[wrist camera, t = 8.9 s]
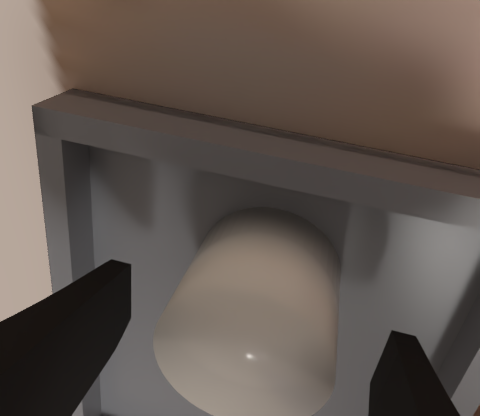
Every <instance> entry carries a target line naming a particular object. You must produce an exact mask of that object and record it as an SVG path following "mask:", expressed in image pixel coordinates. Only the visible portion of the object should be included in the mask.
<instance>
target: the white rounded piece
mask: <svg viewBox="0 0 480 416" xmlns="http://www.w3.org/2000/svg"><path fill="white" fill-rule="evenodd" d="M340 281H341V268H340V262H339V258H338V255H337V253H336V251H335V249H334V247H333V245H332V244H331V242H330V240H329V239H328V238H327V237H326V236H325V234H324V233H323V232H322V231H321V230H320V229H318V228H317V227H316V226H315V225H314V224H312V223H311V222H309V221H308V220H306V219H304V218H303V217H301V216H299V215H296V214H294V213H291V212H289V211H285V210H282V209H276V208H270V207H255V208H247V209H242V210H239V211H236V212H233V213H231V214H229V215H227V216H225V217H224V218H222V219H221V220H219V221H218V222H217V223H216V224H215V225H214V226H213V227H212V228H211V230H210V231H209V232H208V234H207V236H206V237H205V239H204V241H203V243H202V244H201V246H200V248H199V250H198V251H197V253H196V255H195V257H194V258H193V260H192V262H191V264H190V265H189V267H188V269H187V271H186V273H185V274H184V276H183V278H182V280H181V281H180V283H179V285H178V287H177V288H176V290H175V292H174V294H173V295H172V297H171V299H170V301H169V302H168V304H167V306H166V308H165V310H164V311H163V313H162V315H161V317H160V318H159V320H158V322H157V324H156V327H155V330H154V336H153V348H154V353H155V358H156V360H157V363H158V366H159V367H160V369H161V371H162V373H163V375H164V376H165V378H166V379H167V380H168V382H169V383H170V384H171V385H172V386H173V388H174V389H175V390H176V391H177V392H178V393H179V394H180V395H182V396H183V397H184V398H185V399H186V400H188V401H189V402H190V403H192V404H193V405H195V406H196V407H198V408H199V409H201V410H203V411H205V412H207V413H209V414H211V415H213V416H312V415H313V414H315V413H316V412H318V411H319V410H320V409H321V408H322V407H323V406H324V405H325V403H326V402H327V401H328V399H329V398H330V396H331V394H332V392H333V389H334V385H335V378H336V358H337V339H338V320H339V300H340Z"/></svg>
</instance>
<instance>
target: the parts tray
mask: <svg viewBox="0 0 480 416" xmlns="http://www.w3.org/2000/svg"><path fill="white" fill-rule="evenodd" d="M32 112H33V121H34V130H35V139H36V148H37V157H38V166H39V174H40V184H41V193H42V202H43V211H44V219H45V228H46V238H47V246H48V256H49V265H50V274H51V283H52V292H53V294H54V293H55V292H57V291H59V290H61V289H62V288H64V287H66V286H67V285H69V284H71V283H72V282H74V281H76V280H77V279H79V278H81V277H82V276H84V275H86V274H87V273H89V272H91V271H92V270H94V269H95V268H97V267H99V266H100V265H102V264H104V263H105V262H107V261H109V260H111V259H113V260H117V261H121V262H125V263H129V264H131V320H130V322H129V324H128V326H127V328H126V330H125V332H124V334H123V336H122V338H121V340H120V342H119V344H118V346H117V348H116V350H115V351H114V353H113V354H112V356H111V357H110V359H109V360H108V362H107V364H106V365H105V367H104V368H103V370H102V371H101V373H100V374H99V376H98V377H97V379H96V380H95V382H94V383H93V385H92V386H91V388H90V389H89V391H88V392H87V394H86V395H85V397H84V398H83V400H82V401H81V403H80V404H79V406H78V407H77V409H76V410H75V412H74V413H73V415H72V416H213V415H211V414H209V413H207V412H205V411H203V410H201V409H199V408H198V407H196V406H195V405H193V404H192V403H190V402H189V401H188V400H186V399H185V398H184V397H183V396H182V395H180V394H179V393H178V392H177V391H176V390H175V389H174V388H173V386H172V385H171V384H170V383H169V382H168V380H167V379H166V378H165V376H164V375H163V373H162V371H161V369H160V367H159V366H158V363H157V360H156V358H155V353H154V348H153V336H154V330H155V327H156V324H157V322H158V320H159V318H160V317H161V315H162V313H163V311H164V310H165V308H166V306H167V304H168V302H169V301H170V299H171V297H172V295H173V294H174V292H175V290H176V288H177V287H178V285H179V283H180V281H181V280H182V278H183V276H184V274H185V273H186V271H187V269H188V267H189V265H190V264H191V262H192V260H193V258H194V257H195V255H196V253H197V251H198V250H199V248H200V246H201V244H202V243H203V241H204V239H205V237H206V236H207V234H208V232H209V231H210V230H211V228H212V227H213V226H214V225H215V224H216V223H217V222H218V221H219V220H221V219H222V218H224V217H225V216H227V215H229V214H231V213H233V212H236V211H239V210H242V209H247V208H255V207H270V208H276V209H282V210H285V211H289V212H291V213H294V214H296V215H299V216H301V217H303V218H304V219H306V220H308V221H309V222H311V223H312V224H314V225H315V226H316V227H317V228H318V229H320V230H321V231H322V232H323V233H324V234H325V236H326V237H327V238H328V239H329V240H330V242H331V244H332V245H333V247H334V249H335V251H336V253H337V255H338V258H339V262H340V268H341V281H340V300H339V320H338V339H337V358H336V378H335V385H334V389H333V392H332V394H331V396H330V398H329V399H328V401H327V402H326V403H325V405H324V406H323V407H322V408H321V409H320V410H319V411H318V412H316V413H315V414H313V415H312V416H368V413H369V391H370V381H371V379H372V376H373V374H374V372H375V369H376V367H377V364H378V362H379V359H380V357H381V355H382V352H383V350H384V347H385V345H386V342H387V340H388V338H389V335H390V333H391V330H394V331H398V332H402V333H406V334H410V335H414V336H416V337H417V339H418V340H419V342H420V344H421V346H422V348H423V350H424V352H425V354H426V355H427V357H428V359H429V361H430V363H431V365H432V367H433V369H434V370H435V372H436V374H437V376H438V378H439V380H440V381H441V383H442V385H443V387H444V389H445V390H446V392H447V394H448V396H449V397H450V399H451V401H452V402H453V404H454V406H455V407H456V409H457V411H458V412H459V414H460V416H473V415H474V413H475V411H476V410H477V408H478V407H479V405H480V170H477V169H472V168H467V167H462V166H457V165H452V164H447V163H442V162H437V161H432V160H427V159H422V158H417V157H412V156H407V155H402V154H397V153H392V152H387V151H382V150H377V149H372V148H367V147H362V146H357V145H352V144H347V143H342V142H337V141H332V140H327V139H322V138H317V137H312V136H307V135H302V134H297V133H292V132H287V131H282V130H277V129H272V128H267V127H262V126H257V125H252V124H247V123H242V122H237V121H232V120H227V119H222V118H217V117H212V116H207V115H202V114H197V113H192V112H187V111H182V110H177V109H172V108H167V107H162V106H157V105H152V104H147V103H142V102H137V101H132V100H127V99H122V98H117V97H112V96H107V95H102V94H97V93H92V92H87V91H82V90H77V89H71V90H68V91H66V92H63V93H61V94H59V95H56V96H54V97H51V98H49V99H46V100H44V101H42V102H39V103H37V104H34V105H32Z"/></svg>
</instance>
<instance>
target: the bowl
mask: <svg viewBox="0 0 480 416" xmlns="http://www.w3.org/2000/svg"><path fill="white" fill-rule="evenodd" d="M473 416H480V405H479V407H478V408H477V410H476V411H475V413H474V415H473Z"/></svg>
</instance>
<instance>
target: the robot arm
mask: <svg viewBox="0 0 480 416" xmlns="http://www.w3.org/2000/svg"><path fill="white" fill-rule="evenodd" d="M130 320H131V264H129V263H125V262H121V261H117V260H113V259H111V260H109V261H107V262H105V263H104V264H102V265H100V266H99V267H97V268H95V269H94V270H92V271H91V272H89V273H87V274H86V275H84V276H82V277H81V278H79V279H77V280H76V281H74V282H72V283H71V284H69V285H67V286H66V287H64V288H62V289H61V290H59V291H57V292H55V293H54V294H52V295H50V296H49V297H47V298H45V299H43V300H41V301H40V302H38V303H36V304H34V305H32V306H30V307H28V308H26V309H25V310H23V311H21V312H19V313H17V314H15V315H13V316H11V317H9V318H7V319H5V320H3V321H1V322H0V416H72V415H73V413H74V412H75V410H76V409H77V407H78V406H79V404H80V403H81V401H82V400H83V398H84V397H85V395H86V394H87V392H88V391H89V389H90V388H91V386H92V385H93V383H94V382H95V380H96V379H97V377H98V376H99V374H100V373H101V371H102V370H103V368H104V367H105V365H106V364H107V362H108V360H109V359H110V357H111V356H112V354H113V353H114V351H115V350H116V348H117V346H118V344H119V342H120V340H121V338H122V336H123V334H124V332H125V330H126V328H127V326H128V324H129V322H130ZM368 416H460V414H459V412H458V411H457V409H456V407H455V406H454V404H453V402H452V401H451V399H450V397H449V396H448V394H447V392H446V390H445V389H444V387H443V385H442V383H441V381H440V380H439V378H438V376H437V374H436V372H435V370H434V369H433V367H432V365H431V363H430V361H429V359H428V357H427V355H426V354H425V352H424V350H423V348H422V346H421V344H420V342H419V340H418V339H417V337H416V336H414V335H410V334H406V333H402V332H398V331H394V330H391V333H390V335H389V338H388V340H387V342H386V345H385V347H384V350H383V352H382V355H381V357H380V359H379V362H378V364H377V367H376V369H375V372H374V374H373V376H372V379H371V381H370V391H369V413H368Z"/></svg>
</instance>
